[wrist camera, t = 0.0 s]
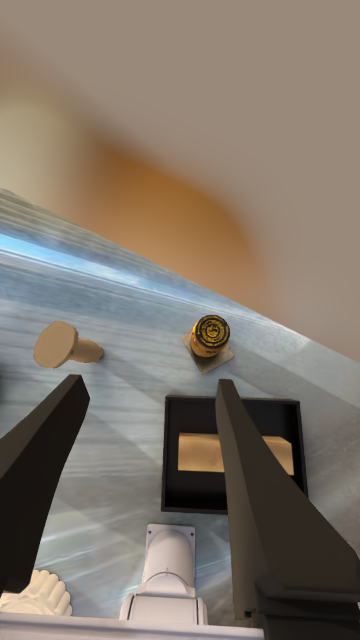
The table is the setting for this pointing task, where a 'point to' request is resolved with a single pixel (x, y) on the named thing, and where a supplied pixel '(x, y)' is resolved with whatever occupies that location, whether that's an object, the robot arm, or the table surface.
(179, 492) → the black tray
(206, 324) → the condiment
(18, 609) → the mooncake
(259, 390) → the table surface
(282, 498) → the robot arm
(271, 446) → the stick
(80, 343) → the handle
